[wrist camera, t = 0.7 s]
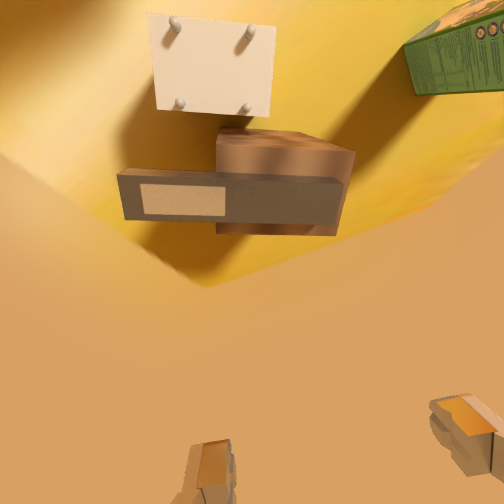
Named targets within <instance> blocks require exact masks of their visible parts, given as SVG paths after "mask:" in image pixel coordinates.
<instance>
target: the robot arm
mask: <svg viewBox="0 0 504 504" xmlns="http://www.w3.org/2000/svg"><path fill="white" fill-rule="evenodd" d="M429 408H430V409H431V410H432V412H433V413H432V414H431V416H430V426H431V428H432V431H433V433H434V435H435V437H436V438H437V440H438V441H439V442H440V444H441V445H442V446H444V447H446V448H447V449H449V450H451V457H452V459H453V460H454V461H455V462H456V463H457V465H458V466H459V467H460V468H461V470H462V471H463V472H464V474H465V475H466V476H467V477H468V476H474V475H481V474H487V473H491V474H492V475H493V476H494V477H496V478H497V479H499V480H500V481H502V482H503V483H504V421H503V420H501V419H500V418H499V417H498V416H497V415H496V414H495V413H493V412H492V411H491V410H490V409H489V408H488V407H486V406H485V405H484V404H483V403H482V402H481V401H480V400H478V399H477V398H476V397H475V396H474V395H472V394H470V393H466V394H460V395H456V396H449V397H444V398H440V399H435V400H431V401H430V403H429ZM235 486H236V465H235V459H234V455H233V454H232V453H231V443H230V440H229V439H226V440H220V441H213V442H207V443H202V444H197V445H192V446H191V448H190V452H189V456H188V462H187V466H186V472H185V477H184V482H183V487H182V492H180V493H177V495H176V496H175V498H174V499H173V501H172V502H171V504H236V495H235V491H234V488H235Z"/></svg>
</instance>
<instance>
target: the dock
mask: <svg viewBox="0 0 504 504" xmlns="http://www.w3.org/2000/svg"><path fill="white" fill-rule="evenodd" d="M147 16H148V26H149V36H150V45H151V55H152V65H153V74H154V84H155V94H156V103H157V110H172V111H186V112H200V113H215V114H229V115H243V116H258V117H269V112H270V100H271V89H272V77H273V65H274V53H275V42H276V30H277V27H274V26H265V25H256V24H247V23H237V22H228V21H219V20H210V19H201V18H192V17H183V16H173V15H164V14H155V13H147Z"/></svg>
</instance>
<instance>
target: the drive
mask: <svg viewBox="0 0 504 504" xmlns="http://www.w3.org/2000/svg"><path fill="white" fill-rule="evenodd" d="M117 180H118V186H119V191H120V196H121V201H122V206H123V212H124V217H125V220H143V221H185V222H227V223H269V224H311V225H335V221H336V217H337V213H338V208H339V204H340V200H341V196H342V192H343V188H344V184H343V183H342V182H340V181H339V180H337V179H336V178H334V177H319V176H297V175H275V174H253V173H231V172H208V171H186V170H164V169H142V168H126V169H125V170H123V171H121V172H120V173H118V174H117Z"/></svg>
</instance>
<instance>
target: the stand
mask: <svg viewBox="0 0 504 504" xmlns="http://www.w3.org/2000/svg"><path fill="white" fill-rule="evenodd" d="M356 153H357V152H355V151H352V150H349V149H346V148H343V147H340V146H338V145H335V144H332V143H329V142H326V141H323V140H320V139H318V138H315V137H312V136H309V135H306V134H303V133H300V132H291V131H275V130H260V129H244V128H228V127H220V130H219V133H218V137H217V141H216V172H231V173H253V174H275V175H297V176H319V177H334V178H336V179H337V180H339V181H340V182H342V183H343V184H344V188H343V192H342V196H341V200H340V204H339V208H338V213H337V217H336V221H335V225H311V224H269V223H227V222H216V234H253V235H305V236H336V233H337V229H338V225H339V221H340V217H341V213H342V209H343V205H344V201H345V197H346V193H347V189H348V185H349V181H350V177H351V173H352V169H353V165H354V161H355V157H356Z"/></svg>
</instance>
